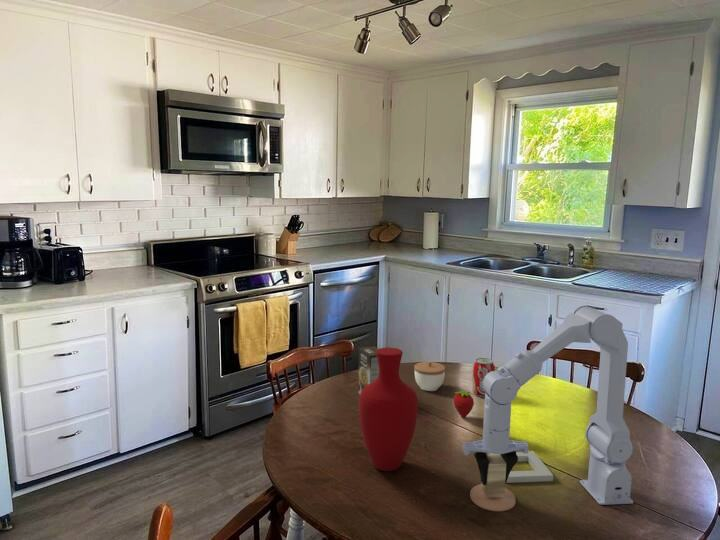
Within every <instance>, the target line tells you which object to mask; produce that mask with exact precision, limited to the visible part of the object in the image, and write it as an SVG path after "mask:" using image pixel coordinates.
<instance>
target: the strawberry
mask: <svg viewBox="0 0 720 540" xmlns="http://www.w3.org/2000/svg"><path fill="white" fill-rule="evenodd" d="M471 393H472V392H471V391H465V389H462V390H461V391H455V392H454V394H455V395H454V396H453V399H452V400H453V401H452V402H453V404H454V408H455V409H456V411H457V412H458V414H459V415H460V417H461V419H465V418H466V417H467V416H468V415H469V414H470V413H471V411H472V410H473V408H474V405H475V403H474V398H473V397H472V394H471Z"/></svg>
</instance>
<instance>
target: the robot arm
mask: <svg viewBox="0 0 720 540" xmlns="http://www.w3.org/2000/svg"><path fill="white" fill-rule="evenodd" d="M591 340H592V341H591ZM592 342H594V343H595V344H596V345H597V346H598V347H599V348H600V351H599V352H600V354H599V357H600V358H599V366H598V367H599V369H598V381H597V384H598V386H597V396H596V397H597V398H596V412H595V413H594V414H592V415H590V417H589V423H588V424H587V425H588V426H587V427H586V429H585V433H584V436H585V438H586V441H587V442H588V443H589V460H588V461H589V462H588V473H587V474H588V475H587V479H580V480H579V483H580V484H581V485H582V487H583V488H584V489H585V490H586V491H587V492H588V493H589V495H590V496H592V497H593V499H594V500H595V501H596V502H597V504H599V505H603V506H604V505H605V506H606V505H607V506H609V505H626V504H627V505H629V504H634V500H633V499H632V498H631V491H632V490H631V489H632V481H633V477H632V474H631V472H630V471H629V470H628V468H627V467H626V464H625V463H626V462H627V460H629V459H630V457H631V455H632V454H633V449H634V446H633V444H632V441H631V432H630V429H629V427H628V426H627V424H626V422H625V420H624V417H623V416H624V404H625V390H626V378H627V377H626V376H627V364H628V353H629V351H628V350H629V342H628V339H627V337H626V335H625V332H624V331H623V323H622V322H621V321H620V320H618V318H616V317H615V316H614V315H611V314H608V313H605V312H603V311H600V310H597V309H596V308H593V307H592V306H589V305H585V304H584V305H579V306H577V307H576V308H575V309H574V310H573V311H572V312H569V314H567V315H566V316H565V318H564V320H563V322H562V323H561V324H560V325H558V327H556V328H555V329H554V330H553V331H552V332H551V333H550V334H548V335H547V336H546V337H545V338H544V339H543V340H542V341H541V342H539V344H537V345H536V346H535V347H534V348H533V349H531V350H529V349H528V350H526V349H525V350H524V349H522V351H521V352H520V351H517V352H516V353H514V355H513V357H512V358H511V359H510V360H509V361H507V362H506V363H505V364H504V365H502V366H499V367H498V368H497V370H495V371H491V372H489V373H488V374H487V375H486V376H485V377H484V380H483V381H482V382H481V386H482V389H483V390H484V391H485V393H486V394H485V397H484V405H483V406H484V407H483V423H482V424H483V428H482V429H483V432H482V439H480V440H476V441H475V440H474V441H470V442H463V443H462V449H461V451H462V453H463V455H464V456H470V454H473V456H474V458H475V460H476V464H477V467H478V471H479V475H480V483H481V484H482V483H483V485H486V483H487V472H488V466H489V462H490V461H489V460H488V458H487V455H488V454H489V453H493V454H500V455H501V457H502V458H503V459H504V461H505V462H506V478H505V485H507V483H506V482H507V479H508V476H509V474H510V472H511V471H513V468H514V466H515V465H516V464H517V463H518V462H517V461H518V456H517V455H516V452H523V453H528V451H529V444H528V443H527V442H526V441H522V440H513V439H512V440H511V439H510V435H511V434H510V433H511V415H512V413H511V412H512V401H514V400H516V398H517V395H518V392H519V390H520V389H521V387H523V386H524V385H525V384H526V383H528V382H529V381H531V380H532V379H533V378H535V376H537V375H538V374H539V373H541V371H542V370H543V369H542V367H543V363H545V362H546V361H547V360H548V359H550V358H551V357H553V356H555V355H556V354H558V353H559V352H560V351H563V349H565V348H567V347H568V346H569V345H571V344H573V343H580V344H582V343H583V344H584V343H585V344H590V343H592Z"/></svg>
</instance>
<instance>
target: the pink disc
mask: <svg viewBox="0 0 720 540" xmlns="http://www.w3.org/2000/svg"><path fill="white" fill-rule="evenodd" d="M481 485H482V483H480V484H477V485H474V486H473V487H472V488H471V489H470V493H469V494H470V495H469V497H470V499H471V501H472V502H473V504H475V505H476V506H478V507H479V508H480V509H484V510H487V511H491V512H507V511H509V510H511V509H512V508H514V507H515V505H516V502H517V500H516V496H515V494H514V493H513V492H512V491H511V490H510V489H508V488H507V487H505V495H504V497H488V498H487V497H486V495H485V493H484V491H483V490H482V488H481Z"/></svg>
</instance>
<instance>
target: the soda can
mask: <svg viewBox="0 0 720 540" xmlns="http://www.w3.org/2000/svg"><path fill="white" fill-rule="evenodd" d="M491 371H496V370H495V364H494V360H492V359H490V358H487V357H478V358H476V359H475V362H474V364H473V369H472V393H473V394H474V395H475V396H477V397H480V398H485V394H486V393H485V391H484V390H483V389H482V386H481V382H482V381H483V380H484V377H485V376H486V375H487V374H488V373H489V372H491Z"/></svg>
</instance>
